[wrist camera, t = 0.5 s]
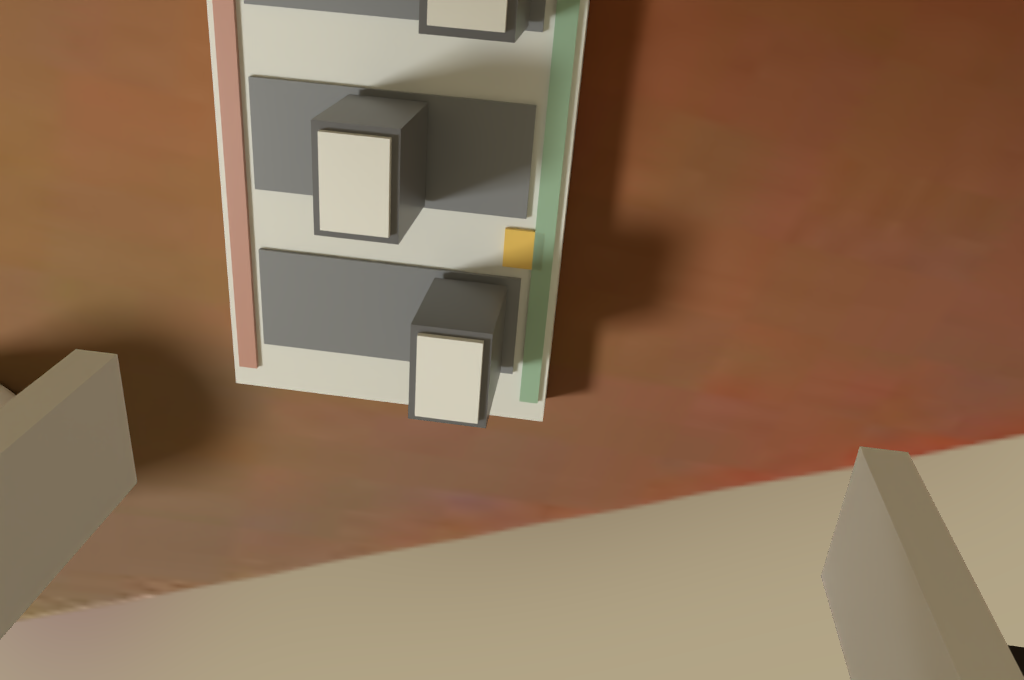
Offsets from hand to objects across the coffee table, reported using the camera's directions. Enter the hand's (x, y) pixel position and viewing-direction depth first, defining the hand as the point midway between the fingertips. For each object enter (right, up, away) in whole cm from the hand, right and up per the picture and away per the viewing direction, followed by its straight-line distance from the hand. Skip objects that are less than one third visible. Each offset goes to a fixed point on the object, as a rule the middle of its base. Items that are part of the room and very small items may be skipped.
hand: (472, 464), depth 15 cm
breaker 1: (-4, +9, +18) cm, 21 cm away
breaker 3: (-1, +3, +21) cm, 21 cm away
